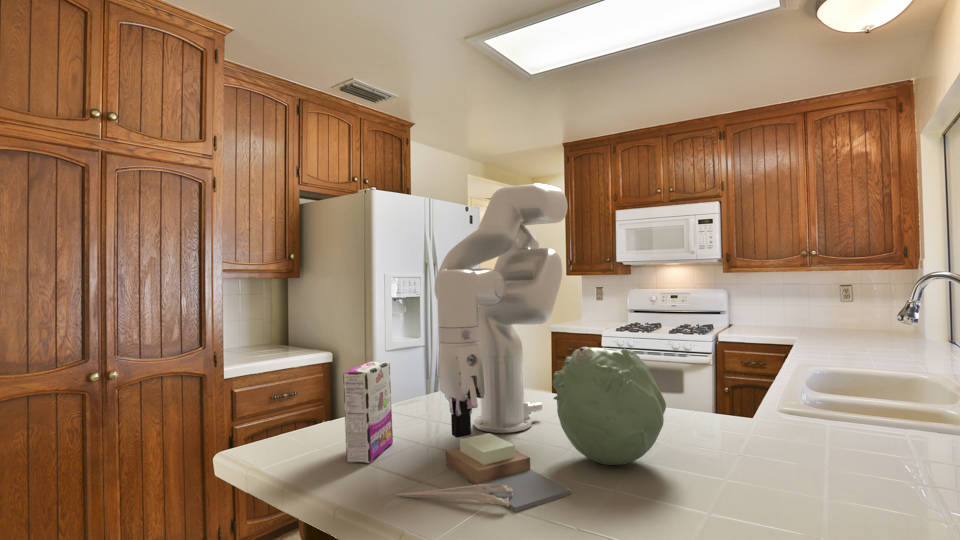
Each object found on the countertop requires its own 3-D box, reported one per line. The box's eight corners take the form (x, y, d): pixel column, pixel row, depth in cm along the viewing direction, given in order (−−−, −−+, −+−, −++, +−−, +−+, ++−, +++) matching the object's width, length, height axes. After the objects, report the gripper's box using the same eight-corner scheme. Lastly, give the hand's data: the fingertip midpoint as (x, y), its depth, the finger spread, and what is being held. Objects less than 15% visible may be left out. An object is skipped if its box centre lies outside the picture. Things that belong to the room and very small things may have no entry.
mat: (531, 473, 82) (531, 469, 82) (570, 494, 74) (570, 490, 74) (479, 487, 77) (479, 483, 77) (515, 511, 69) (514, 507, 69)
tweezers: (514, 493, 73) (512, 479, 73) (508, 509, 68) (506, 495, 68) (404, 496, 77) (402, 483, 77) (391, 512, 73) (389, 498, 73)
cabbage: (673, 484, 76) (668, 353, 77) (549, 475, 81) (545, 352, 81) (663, 449, 91) (659, 340, 92) (559, 444, 96) (556, 340, 97)
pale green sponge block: (489, 444, 90) (489, 433, 90) (514, 457, 83) (514, 445, 83) (460, 450, 87) (459, 439, 87) (483, 465, 80) (483, 452, 80)
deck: (494, 453, 92) (494, 439, 92) (530, 472, 82) (530, 457, 83) (446, 465, 87) (445, 450, 87) (478, 487, 77) (477, 470, 77)
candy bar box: (370, 442, 100) (368, 361, 101) (393, 443, 99) (391, 361, 100) (344, 463, 89) (341, 371, 90) (370, 464, 88) (367, 371, 89)
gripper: (497, 337, 88) (500, 442, 88) (457, 331, 101) (460, 422, 101) (459, 341, 84) (462, 450, 84) (423, 334, 97) (426, 429, 97)
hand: (461, 435), depth 92 cm, fingers closed
